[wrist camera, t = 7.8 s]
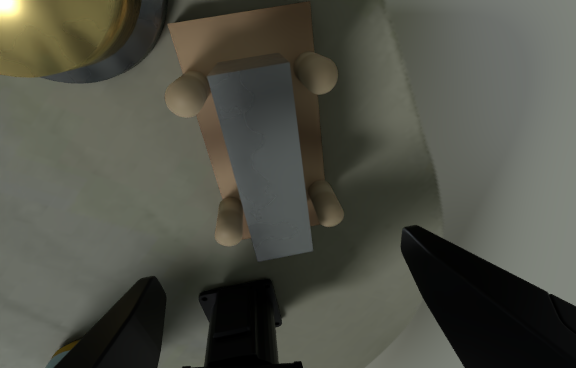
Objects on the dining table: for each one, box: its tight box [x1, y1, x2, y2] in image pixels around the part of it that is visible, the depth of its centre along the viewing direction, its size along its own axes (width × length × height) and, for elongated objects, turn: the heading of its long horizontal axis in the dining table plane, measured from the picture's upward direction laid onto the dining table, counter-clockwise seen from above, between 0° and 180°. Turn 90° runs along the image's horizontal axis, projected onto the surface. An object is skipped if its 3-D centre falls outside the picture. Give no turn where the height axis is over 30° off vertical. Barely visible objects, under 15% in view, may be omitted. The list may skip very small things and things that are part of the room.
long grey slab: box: [207, 53, 313, 262], centre depth 15 cm, size 10×3×4 cm, turn 8°
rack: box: [165, 1, 344, 246], centre depth 16 cm, size 14×8×4 cm, turn 8°
